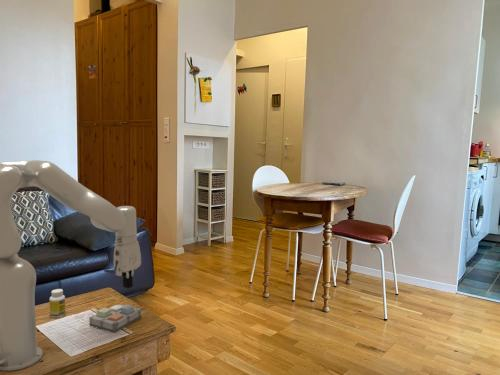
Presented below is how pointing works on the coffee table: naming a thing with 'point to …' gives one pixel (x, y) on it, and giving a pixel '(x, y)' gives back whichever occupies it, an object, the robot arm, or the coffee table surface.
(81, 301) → the coffee table surface
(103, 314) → the key sage
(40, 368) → the coffee table surface
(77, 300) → the coffee table surface
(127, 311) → the key slate
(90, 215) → the robot arm
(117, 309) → the key ivory
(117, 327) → the keypad
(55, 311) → the supplement bottle
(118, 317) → the key terracotta
